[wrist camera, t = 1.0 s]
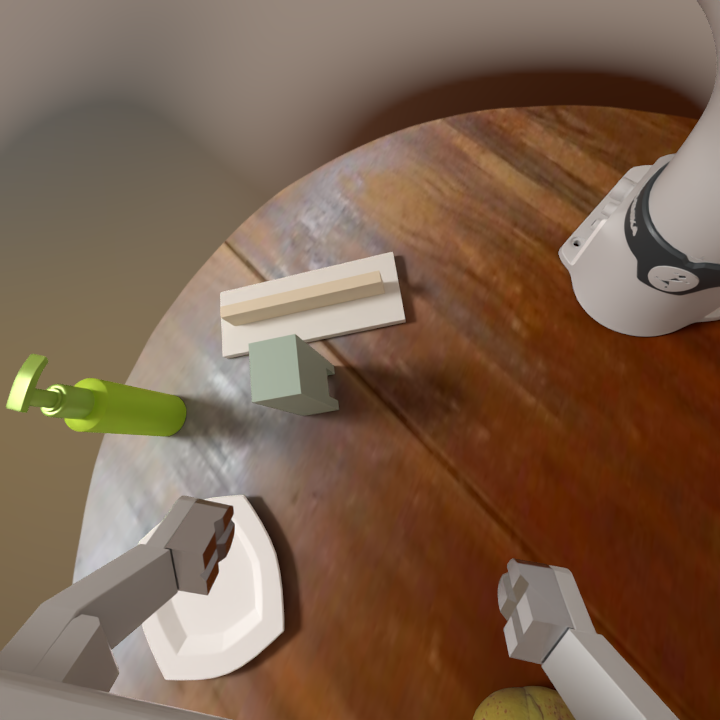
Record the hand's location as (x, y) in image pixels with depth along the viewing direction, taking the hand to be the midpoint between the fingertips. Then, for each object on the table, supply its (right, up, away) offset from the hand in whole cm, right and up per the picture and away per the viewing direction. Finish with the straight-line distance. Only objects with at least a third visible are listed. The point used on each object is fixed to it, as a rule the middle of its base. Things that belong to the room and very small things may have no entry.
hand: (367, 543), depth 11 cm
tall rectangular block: (-6, +1, +38) cm, 39 cm away
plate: (-18, -22, +36) cm, 46 cm away
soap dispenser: (-28, -2, +42) cm, 51 cm away
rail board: (-7, +13, +42) cm, 44 cm away
